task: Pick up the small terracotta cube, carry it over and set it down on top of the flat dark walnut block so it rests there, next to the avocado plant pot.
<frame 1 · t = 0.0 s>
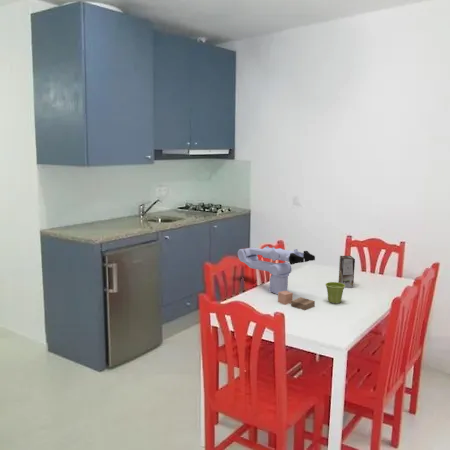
hand: (308, 259, 222), 22 cm above the table, tool horizontal, fingers open, 7 cm apart
plant pot: (334, 302, 227), on the table
walnut block: (302, 307, 220), on the table
coffee box: (345, 285, 255), on the table
terracotta cube: (285, 302, 225), on the table
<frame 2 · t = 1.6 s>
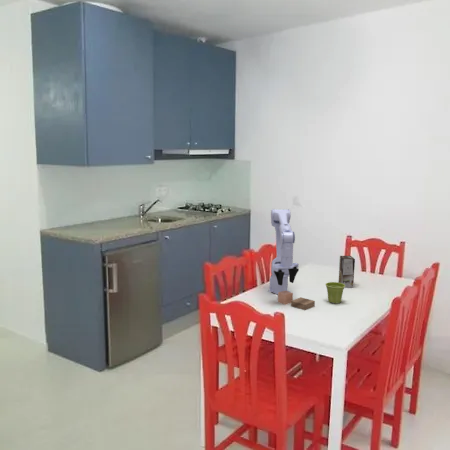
hand: (285, 283, 223), 9 cm above the table, tool pointing down, fingers open, 7 cm apart
nothing on the table moved.
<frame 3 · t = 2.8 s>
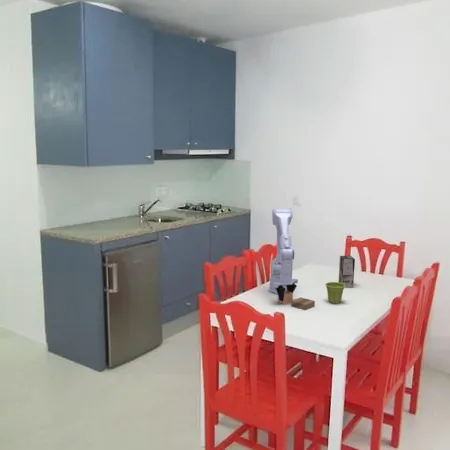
hand: (285, 299, 225), 1 cm above the table, tool pointing down, fingers closed on terracotta cube, 5 cm apart
terracotta cube: (285, 302, 225), on the table, touching gripper
everything else where it was.
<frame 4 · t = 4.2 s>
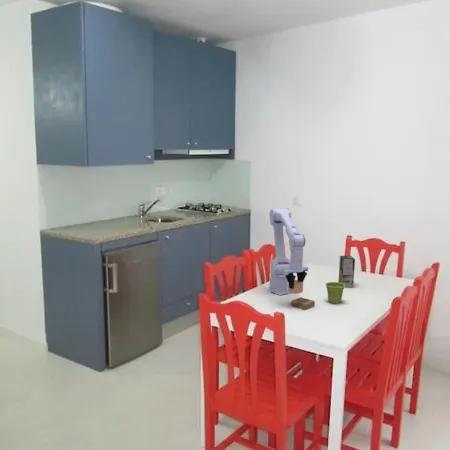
hand: (295, 287, 220), 9 cm above the table, tool pointing down, fingers closed on terracotta cube, 5 cm apart
terracotta cube: (295, 291, 221), point 6 cm above the table, touching gripper
everything else where it was.
when the fingers open (6 cm above the table, at t = 5.5 s): terracotta cube stays where it is, resting on walnut block.
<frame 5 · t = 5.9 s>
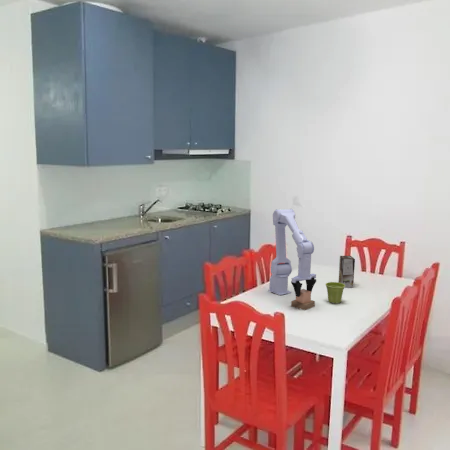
hand: (303, 294, 219), 6 cm above the table, tool pointing down, fingers open, 7 cm apart
walnut block: (302, 307, 220), on the table, touching terracotta cube
terracotta cube: (303, 301, 219), point 3 cm above the table, touching walnut block
everything else where it was.
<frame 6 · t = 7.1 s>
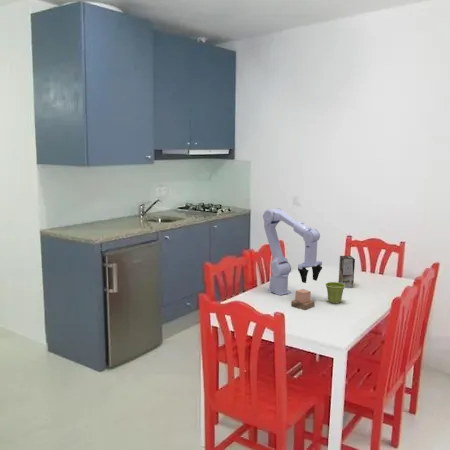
hand: (309, 281, 226), 10 cm above the table, tool pointing down, fingers open, 7 cm apart
walnut block: (302, 307, 220), on the table
terracotta cube: (302, 301, 219), point 3 cm above the table
everything else where it was.
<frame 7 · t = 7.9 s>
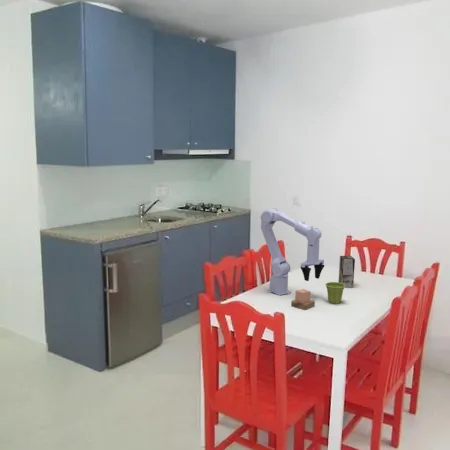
hand: (311, 279, 230), 10 cm above the table, tool pointing down, fingers open, 7 cm apart
walnut block: (302, 307, 220), on the table, touching terracotta cube
terracotta cube: (302, 301, 219), point 3 cm above the table, touching walnut block
everything else where it was.
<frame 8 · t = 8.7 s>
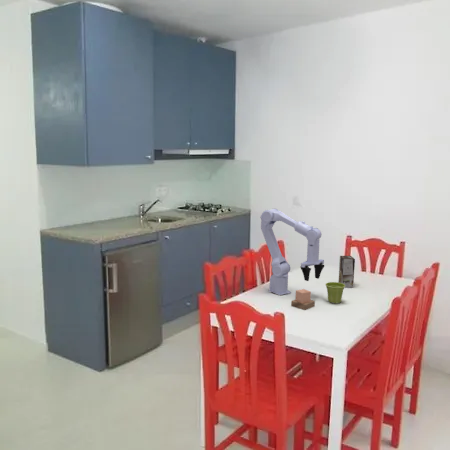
hand: (311, 279, 230), 10 cm above the table, tool pointing down, fingers open, 7 cm apart
nothing on the table moved.
at the end: terracotta cube 0.4 cm off-centre on the walnut block, point 3.0 cm above the walnut block's base; terracotta cube tilted 1°; the gripper is holding nothing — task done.
